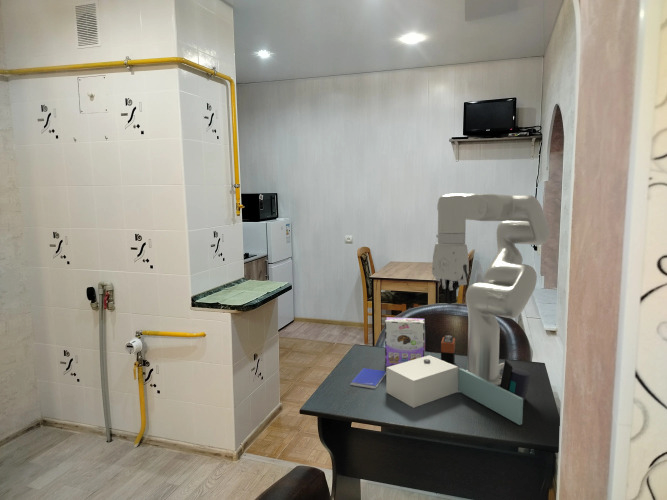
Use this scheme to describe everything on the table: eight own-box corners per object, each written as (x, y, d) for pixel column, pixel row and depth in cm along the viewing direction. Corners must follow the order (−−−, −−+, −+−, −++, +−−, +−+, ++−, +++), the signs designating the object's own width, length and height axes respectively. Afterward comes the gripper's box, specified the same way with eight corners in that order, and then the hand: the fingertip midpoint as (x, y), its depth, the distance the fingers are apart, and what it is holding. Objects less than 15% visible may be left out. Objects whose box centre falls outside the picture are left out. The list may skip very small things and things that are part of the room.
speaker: (497, 399, 132) (502, 365, 130) (498, 392, 137) (503, 359, 136) (525, 406, 129) (531, 371, 128) (525, 398, 134) (530, 365, 133)
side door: (457, 390, 137) (457, 368, 137) (461, 389, 138) (462, 367, 137) (519, 425, 116) (520, 399, 116) (524, 423, 117) (525, 397, 116)
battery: (454, 362, 162) (455, 335, 160) (453, 369, 155) (454, 341, 154) (442, 360, 163) (442, 334, 162) (440, 367, 157) (441, 340, 155)
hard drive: (375, 385, 141) (386, 371, 152) (350, 381, 144) (363, 367, 155) (375, 390, 141) (386, 375, 152) (350, 386, 144) (363, 372, 155)
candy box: (424, 362, 161) (425, 318, 159) (424, 369, 156) (424, 322, 154) (386, 360, 165) (386, 316, 163) (384, 366, 159) (384, 320, 157)
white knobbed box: (431, 377, 148) (432, 352, 147) (460, 390, 138) (460, 364, 137) (386, 392, 138) (386, 365, 137) (413, 407, 128) (413, 378, 127)
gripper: (422, 238, 131) (422, 299, 133) (463, 242, 118) (461, 310, 121) (441, 236, 135) (440, 296, 137) (481, 240, 122) (480, 306, 125)
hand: (450, 302), depth 129 cm, fingers closed
